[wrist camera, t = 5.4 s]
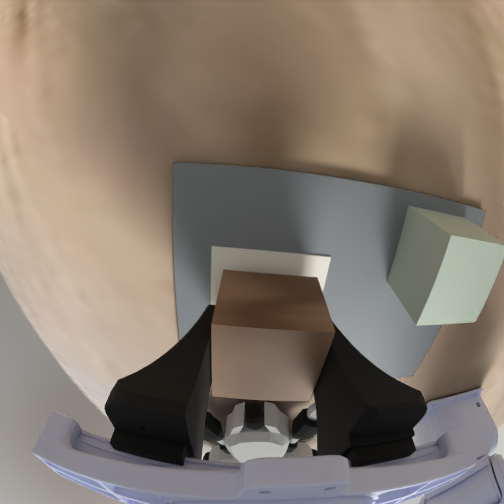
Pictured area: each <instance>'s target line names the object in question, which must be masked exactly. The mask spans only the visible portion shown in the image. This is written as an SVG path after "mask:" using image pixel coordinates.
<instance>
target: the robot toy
mask: <svg viewBox="0 0 504 504" xmlns="http://www.w3.org/2000/svg"><path fill="white" fill-rule="evenodd" d="M316 433H317V418H316V404H315V403H314V404H312V405H311V406H309V408H307V409H303V410H302V411H301V412H300V413H299V414H298V416H297V417H296V418H295V419H294V420H293V425H292V433H291V434H289V424H288V418H287V416H286V415H285V414H284V413H282V412H281V411H279V409H278V408H277V407H276V405H275V404H273V403H269V402H265V401H264V407H263V406H262V405H261V404H260V403H255V402H254V403H249V404H248V405H246V408H245V402H243V403H240V404H237V405H235V407H234V409H233V412H232V413H231V414H229V415H228V416H227V419H226V424H225V433H224V435H223V431H222V427H221V423H220V421H218V420H217V419H216V418H215V417H214V416H213V415H212V414H211V413H209V412H206V420H205V428H204V437H203V440H207V441H217V442H218V443H219V445H216V446H214V447H213V448H212V449H211V451H210V452H207V453H205V455H204V458H203V460H208V461H217V462H227V463H240V464H243V463H245V462H246V461H247V460H251V459H255V458H266V457H308V456H317V451H316V450H314V449H311V448H310V447H309V445H308V444H305V443H302V442H300V441H298V440H299V439H306V438H311V437H313V436H314V435H315V434H316Z"/></svg>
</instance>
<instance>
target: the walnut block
mask: <svg viewBox="0 0 504 504" xmlns="http://www.w3.org/2000/svg"><path fill="white" fill-rule="evenodd" d="M334 335H335V329H334V326H333V323H332V319H331V316H330V313H329V310H328V307H327V304H326V301H325V298H324V295H323V292H322V289H321V286H320V283H319V281H318V278H317V277H307V276H294V275H281V274H269V273H257V272H245V271H234V270H223V274H222V278H221V283H220V287H219V292H218V296H217V301H216V305H215V310H214V314H213V319H212V323H211V351H212V396H215V397H225V398H236V399H249V400H268V401H309V400H310V398H311V395H312V393H313V391H314V388H315V386H316V383H317V381H318V378H319V376H320V373H321V370H322V368H323V365H324V363H325V360H326V357H327V354H328V352H329V349H330V346H331V343H332V340H333V337H334Z"/></svg>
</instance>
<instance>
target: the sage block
mask: <svg viewBox="0 0 504 504" xmlns="http://www.w3.org/2000/svg"><path fill="white" fill-rule="evenodd" d="M503 259H504V243H503V242H501V241H500V240H498V239H497V238H495V237H494V236H492V235H491V234H490V233H488V232H487V231H485V230H483V229H482V228H480V227H479V226H477V225H476V224H474V223H473V222H471V221H469V220H468V219H466V218H463V217H459V216H454V215H450V214H446V213H441V212H437V211H432V210H427V209H422V208H417V207H412V206H408V209H407V213H406V217H405V221H404V225H403V229H402V233H401V236H400V240H399V244H398V247H397V251H396V254H395V257H394V261H393V264H392V267H391V270H390V273H389V276H388V279H387V283H388V284H389V286H390V287H391V289H392V290H393V291H394V293H395V294H396V296H397V297H398V299H399V300H400V302H401V303H402V305H403V306H404V308H405V309H406V311H407V312H408V314H409V315H410V317H411V319H412V320H413V322H414V323H415V325H416V326H419V325H441V324H458V323H471V322H476V320H477V318H478V316H479V314H480V312H481V310H482V308H483V306H484V304H485V302H486V300H487V298H488V296H489V293H490V291H491V289H492V287H493V284H494V282H495V279H496V277H497V275H498V272H499V270H500V267H501V264H502V262H503Z"/></svg>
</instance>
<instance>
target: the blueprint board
mask: <svg viewBox="0 0 504 504" xmlns="http://www.w3.org/2000/svg"><path fill="white" fill-rule="evenodd" d="M408 206H412V207H417V208H422V209H427V210H432V211H437V212H441V213H446V214H450V215H454V216H459V217H463V218H466V219H468V220H469V221H471V222H473V223H474V224H476V225H477V226H479V227H480V228H481V226H482V222H483V219H484V215H485V211H484V210H483V209H480V208H477V207H473V206H470V205H466V204H463V203H459V202H455V201H452V200H448V199H444V198H440V197H436V196H432V195H428V194H423V193H419V192H415V191H410V190H406V189H401V188H396V187H391V186H386V185H381V184H376V183H371V182H365V181H360V180H354V179H348V178H342V177H335V176H329V175H322V174H314V173H307V172H299V171H291V170H282V169H273V168H263V167H251V166H239V165H225V164H208V163H185V162H175V163H173V252H174V275H175V291H176V306H177V318H178V329H179V340H181V339H182V338H183V337H184V336H185V334H186V333H187V332H188V331H189V330H190V329H191V328H192V326H193V325H194V324H195V323H196V322H197V320H198V319H199V318H200V316H201V315H202V313H203V312H204V310H205V309H206V307H207V306H208V305H209V304H210V305H216V301H217V296H218V292H219V287H220V283H221V278H222V274H223V270H234V271H245V272H257V273H269V274H281V275H294V276H307V277H317V278H318V281H319V283H320V286H321V289H322V292H323V295H324V298H325V301H326V304H327V307H328V310H329V313H330V316H331V319H332V321H333V323H334V324H335V325H336V326H337V328H338V329H339V330H340V331H341V332H342V334H343V335H344V336H345V337H346V338H347V339H348V340H349V342H350V343H351V344H352V345H353V346H354V347H355V348H356V349H357V350H358V351H359V352H360V353H361V354H362V355H363V356H365V357H366V358H367V359H368V360H369V361H370V362H372V363H373V364H374V365H375V366H377V367H378V368H379V369H381V370H382V371H384V372H385V373H387V374H388V375H390V376H391V377H393V378H400V377H409V376H413V375H414V373H415V372H416V370H417V369H418V367H419V365H420V364H421V362H422V360H423V359H424V357H425V355H426V354H427V352H428V350H429V348H430V347H431V345H432V343H433V341H434V339H435V338H436V336H437V334H438V332H439V330H440V328H441V326H442V324H441V325H419V326H416V325H415V323H414V322H413V320H412V319H411V317H410V315H409V314H408V312H407V311H406V309H405V308H404V306H403V305H402V303H401V302H400V300H399V299H398V297H397V296H396V294H395V293H394V291H393V290H392V289H391V287H390V286H389V284H388V283H387V279H388V276H389V273H390V270H391V267H392V264H393V261H394V257H395V254H396V251H397V247H398V244H399V240H400V236H401V233H402V229H403V225H404V221H405V217H406V213H407V209H408Z"/></svg>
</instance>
